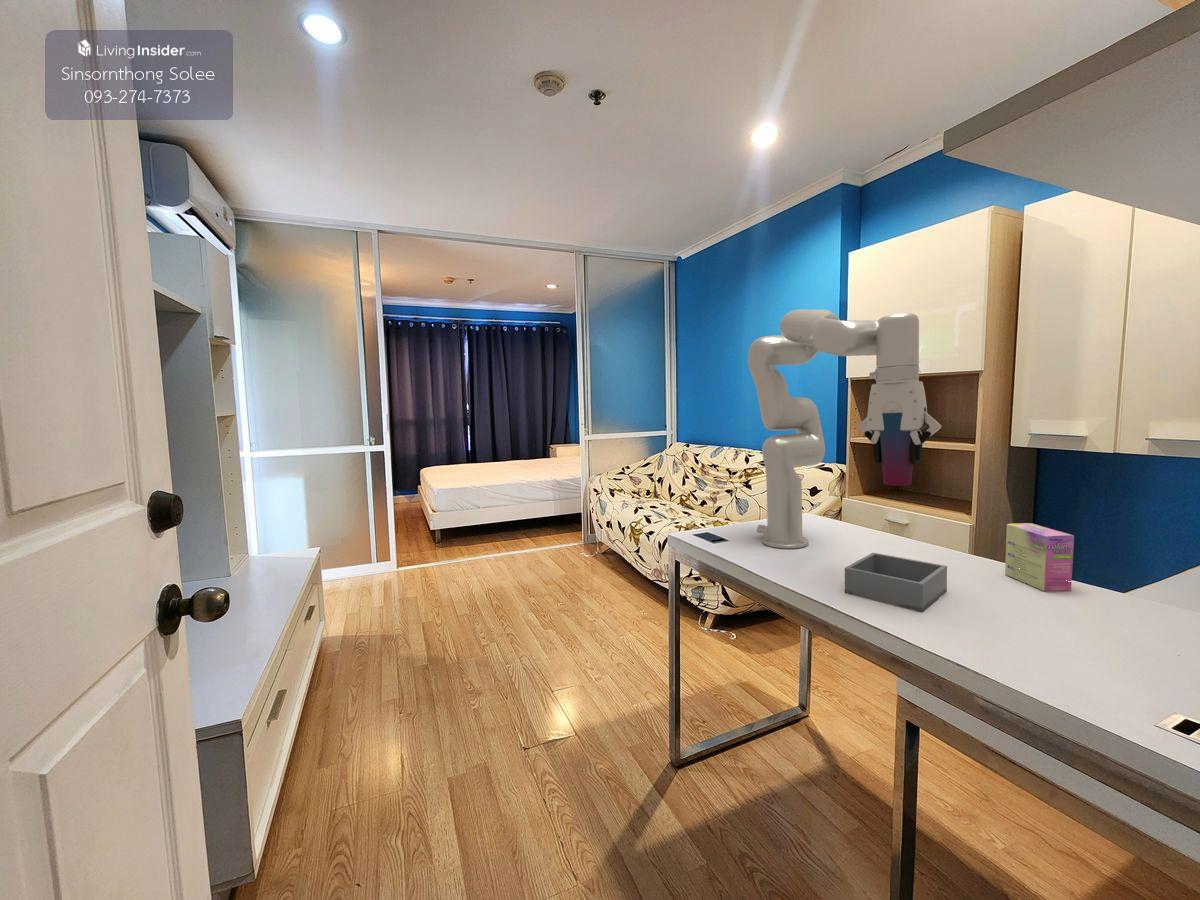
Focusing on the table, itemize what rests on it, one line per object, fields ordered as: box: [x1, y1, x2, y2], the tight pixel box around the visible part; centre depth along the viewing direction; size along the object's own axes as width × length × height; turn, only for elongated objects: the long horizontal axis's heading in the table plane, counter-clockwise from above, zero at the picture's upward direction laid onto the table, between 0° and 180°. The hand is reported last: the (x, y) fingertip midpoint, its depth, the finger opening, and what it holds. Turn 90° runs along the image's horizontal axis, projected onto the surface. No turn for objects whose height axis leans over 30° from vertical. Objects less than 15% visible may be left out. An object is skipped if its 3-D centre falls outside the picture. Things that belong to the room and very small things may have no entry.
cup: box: [880, 413, 914, 487], centre depth 104 cm, size 7×7×15 cm
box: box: [1004, 522, 1075, 592], centre depth 107 cm, size 10×6×12 cm, turn 179°
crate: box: [844, 552, 948, 613], centre depth 106 cm, size 15×15×6 cm
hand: (897, 462), depth 104 cm, fingers closed on cup, 6 cm apart
